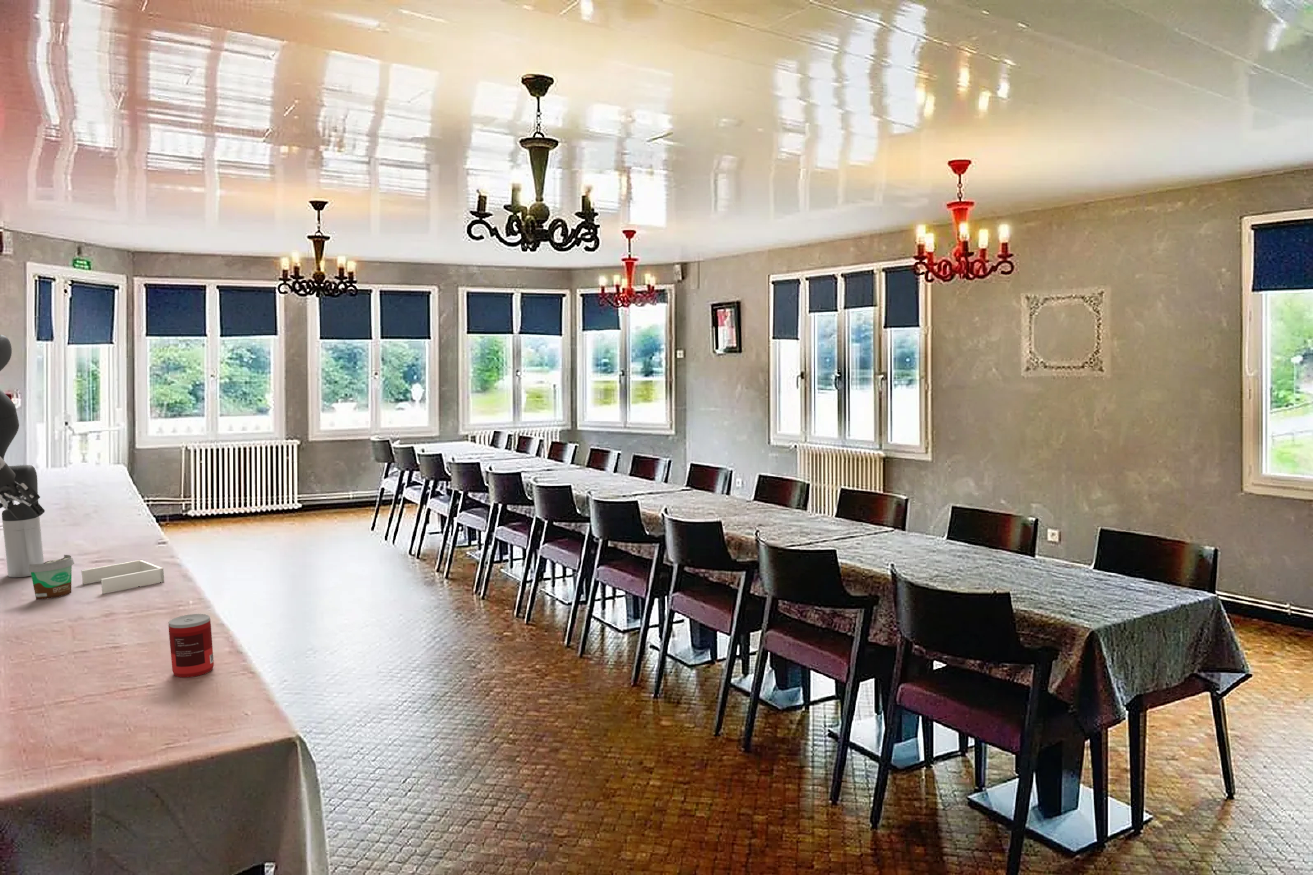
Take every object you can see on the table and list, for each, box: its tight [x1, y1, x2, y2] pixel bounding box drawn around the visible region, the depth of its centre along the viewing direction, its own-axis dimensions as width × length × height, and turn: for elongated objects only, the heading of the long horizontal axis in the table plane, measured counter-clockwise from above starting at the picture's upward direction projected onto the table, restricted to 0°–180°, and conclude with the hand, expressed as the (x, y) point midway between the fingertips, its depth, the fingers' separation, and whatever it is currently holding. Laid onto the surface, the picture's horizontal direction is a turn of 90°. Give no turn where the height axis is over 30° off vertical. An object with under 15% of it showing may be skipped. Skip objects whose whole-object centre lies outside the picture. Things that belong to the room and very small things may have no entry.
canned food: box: [167, 613, 215, 679], centre depth 187 cm, size 8×8×11 cm
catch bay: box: [81, 559, 165, 595], centre depth 263 cm, size 18×16×4 cm
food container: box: [29, 554, 75, 601], centre depth 251 cm, size 12×6×10 cm, turn 168°
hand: (31, 515), depth 249 cm, fingers open, 8 cm apart
